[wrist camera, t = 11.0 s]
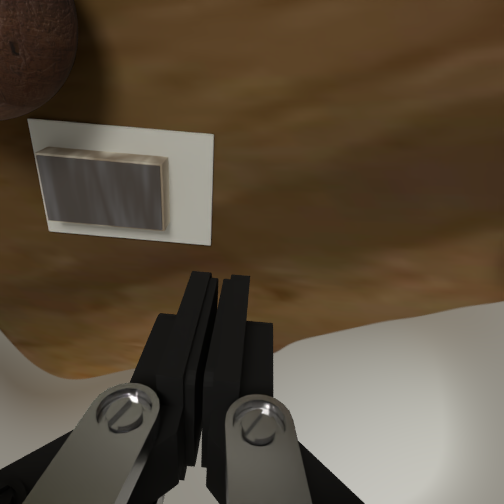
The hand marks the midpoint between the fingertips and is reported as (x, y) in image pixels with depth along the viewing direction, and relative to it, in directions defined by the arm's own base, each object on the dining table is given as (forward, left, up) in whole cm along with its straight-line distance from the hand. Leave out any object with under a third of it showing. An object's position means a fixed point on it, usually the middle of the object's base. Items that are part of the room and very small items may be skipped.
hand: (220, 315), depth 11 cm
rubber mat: (+13, +7, -29) cm, 33 cm away
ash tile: (+8, +7, -28) cm, 30 cm away
